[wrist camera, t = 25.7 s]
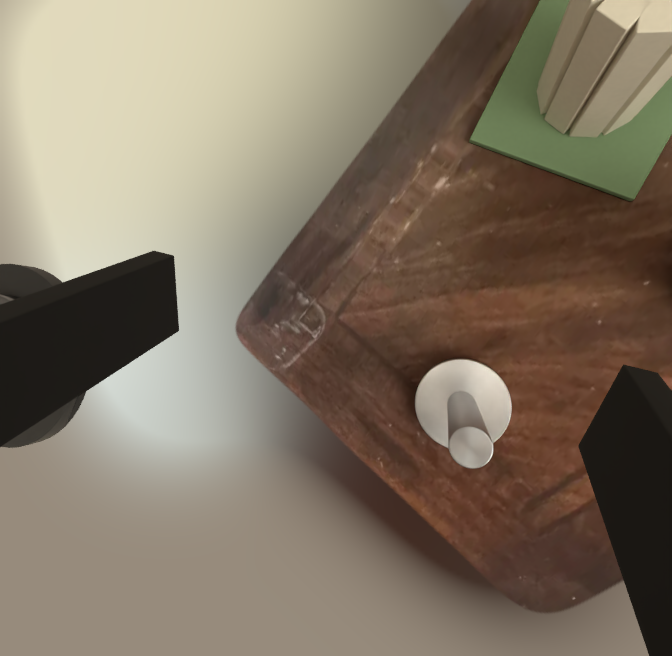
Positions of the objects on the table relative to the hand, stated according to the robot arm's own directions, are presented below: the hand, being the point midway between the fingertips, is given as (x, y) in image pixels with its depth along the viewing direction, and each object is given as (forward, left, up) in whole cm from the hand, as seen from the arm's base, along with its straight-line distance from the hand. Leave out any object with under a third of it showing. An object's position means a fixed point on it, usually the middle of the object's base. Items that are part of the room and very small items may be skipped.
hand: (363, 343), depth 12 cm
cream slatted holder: (+3, +24, -25) cm, 35 cm away
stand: (+6, -4, -26) cm, 27 cm away
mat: (+3, +24, -26) cm, 35 cm away
